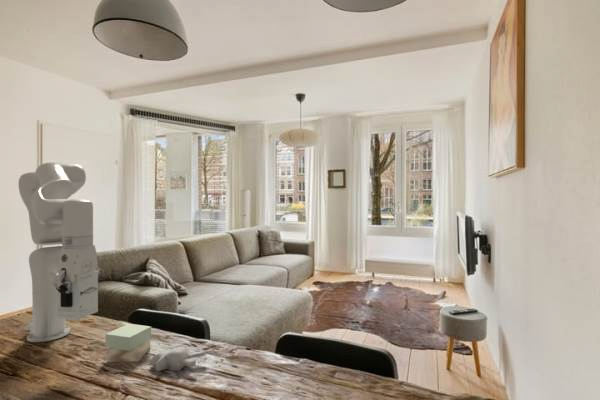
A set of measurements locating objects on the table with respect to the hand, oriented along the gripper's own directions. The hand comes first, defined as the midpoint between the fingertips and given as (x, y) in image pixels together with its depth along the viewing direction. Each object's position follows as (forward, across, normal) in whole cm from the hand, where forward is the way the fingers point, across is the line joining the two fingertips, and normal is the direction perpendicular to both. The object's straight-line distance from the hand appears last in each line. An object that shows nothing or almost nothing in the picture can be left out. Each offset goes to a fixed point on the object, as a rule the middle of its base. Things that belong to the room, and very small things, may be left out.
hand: (78, 301), depth 98 cm
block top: (+15, +8, -10) cm, 20 cm away
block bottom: (+19, +8, -11) cm, 23 cm away
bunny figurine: (+19, +3, -29) cm, 35 cm away
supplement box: (+4, 0, 0) cm, 4 cm away
